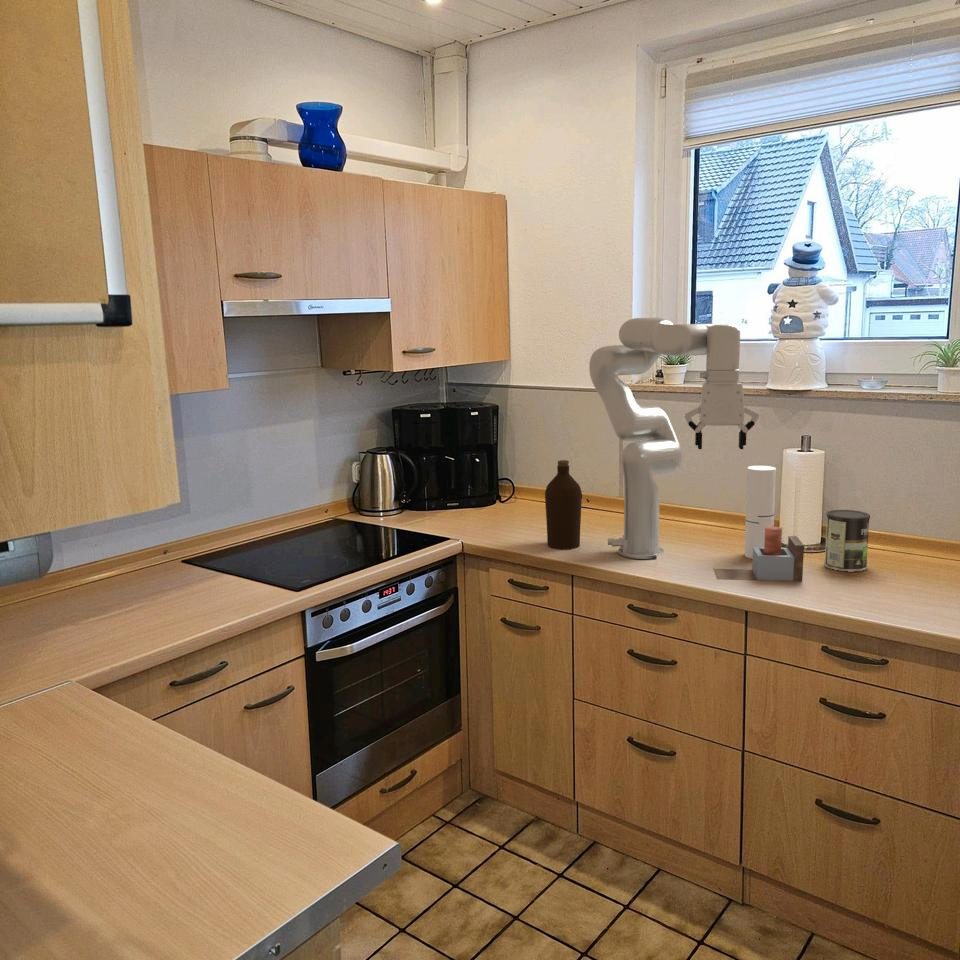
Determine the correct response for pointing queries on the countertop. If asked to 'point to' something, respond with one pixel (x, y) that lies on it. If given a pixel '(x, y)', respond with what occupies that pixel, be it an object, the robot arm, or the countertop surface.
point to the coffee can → (847, 540)
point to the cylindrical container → (759, 505)
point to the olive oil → (563, 509)
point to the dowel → (772, 540)
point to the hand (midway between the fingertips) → (720, 448)
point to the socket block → (773, 565)
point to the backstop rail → (743, 574)
